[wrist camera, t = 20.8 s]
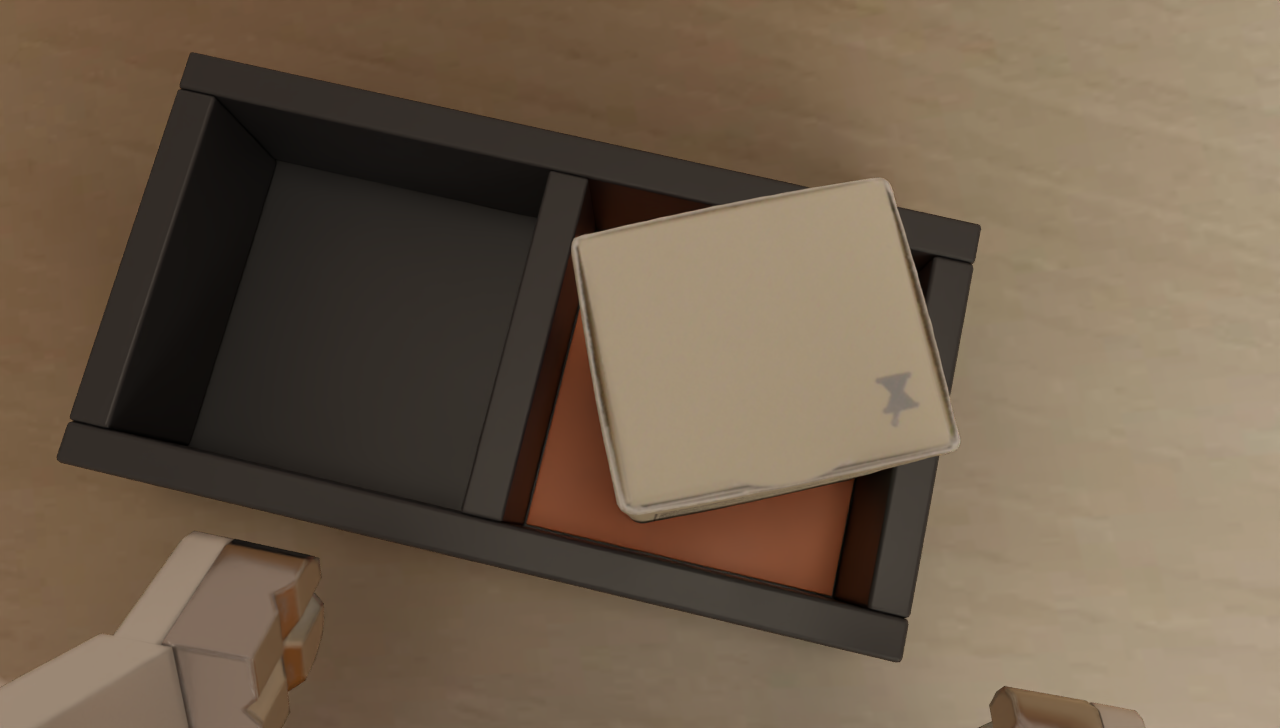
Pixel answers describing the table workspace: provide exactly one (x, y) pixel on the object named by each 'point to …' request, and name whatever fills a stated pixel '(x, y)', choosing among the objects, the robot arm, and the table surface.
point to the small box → (759, 349)
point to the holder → (452, 354)
